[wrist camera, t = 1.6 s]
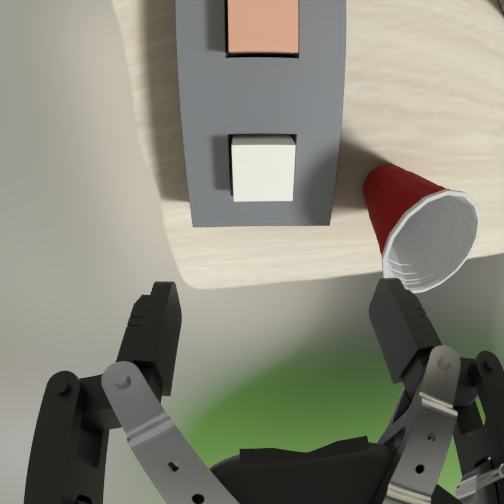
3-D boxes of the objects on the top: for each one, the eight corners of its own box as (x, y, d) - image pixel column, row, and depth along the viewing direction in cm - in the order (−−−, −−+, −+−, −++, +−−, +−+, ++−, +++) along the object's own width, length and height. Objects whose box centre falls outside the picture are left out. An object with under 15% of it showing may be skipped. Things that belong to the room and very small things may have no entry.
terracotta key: (290, 3, 17) (298, -6, 14) (290, 54, 20) (298, 52, 17) (230, 3, 17) (227, -8, 14) (231, 53, 20) (228, 51, 17)
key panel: (329, -18, 18) (345, -30, 14) (319, 201, 32) (329, 225, 28) (187, -19, 17) (175, -33, 13) (200, 203, 32) (192, 227, 28)
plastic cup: (402, 235, 35) (444, 302, 25) (329, 217, 33) (360, 290, 23) (438, 161, 28) (501, 212, 19) (363, 129, 27) (421, 173, 17)
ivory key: (288, 132, 24) (295, 145, 21) (286, 181, 27) (292, 201, 24) (233, 133, 24) (231, 145, 21) (235, 182, 27) (233, 201, 24)
